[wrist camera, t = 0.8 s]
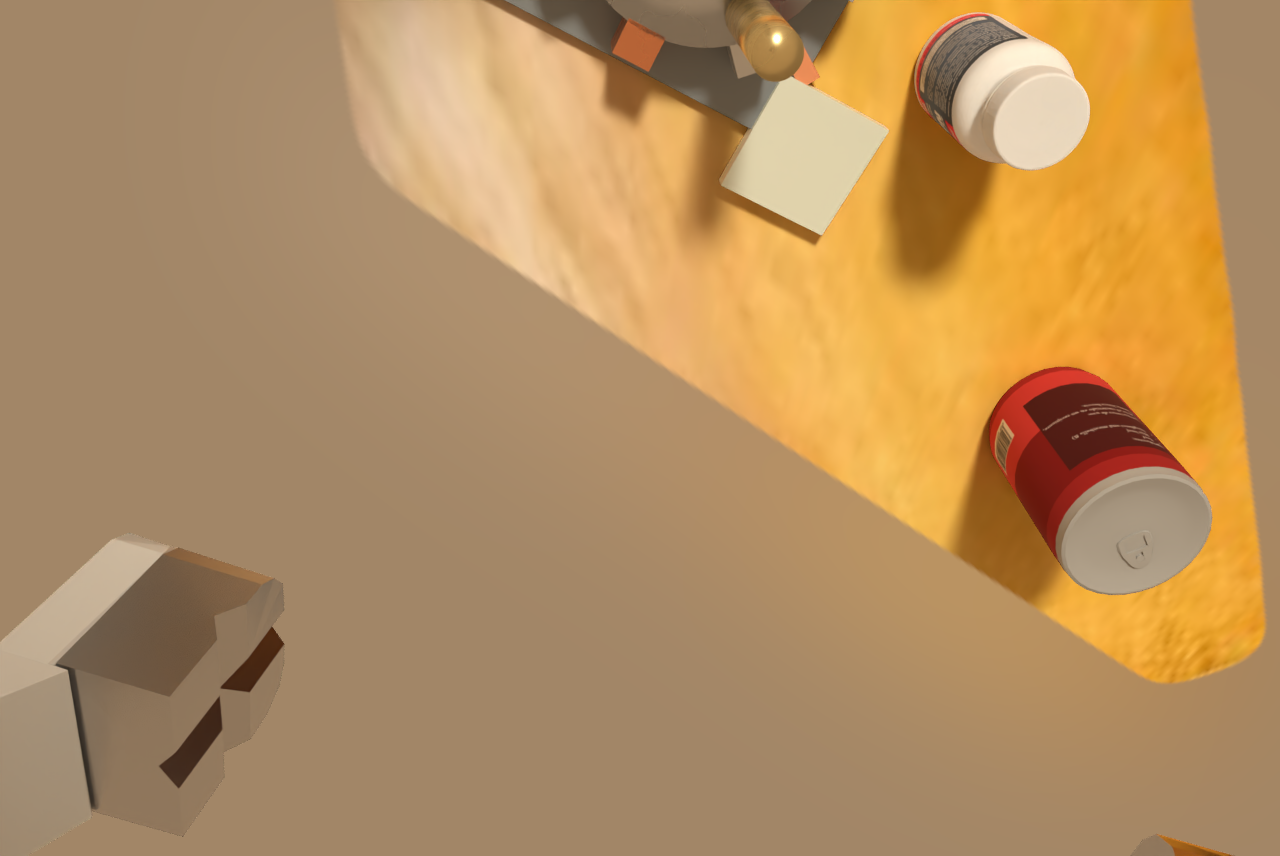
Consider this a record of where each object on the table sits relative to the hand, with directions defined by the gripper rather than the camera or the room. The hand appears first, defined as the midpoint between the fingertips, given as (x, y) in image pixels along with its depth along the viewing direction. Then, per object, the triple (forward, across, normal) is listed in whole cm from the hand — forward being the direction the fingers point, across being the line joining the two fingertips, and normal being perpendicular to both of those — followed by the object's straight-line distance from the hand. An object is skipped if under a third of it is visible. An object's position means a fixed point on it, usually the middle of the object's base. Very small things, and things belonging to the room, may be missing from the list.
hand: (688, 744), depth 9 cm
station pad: (+44, 0, +7) cm, 44 cm away
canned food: (+49, -18, +20) cm, 56 cm away
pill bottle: (+46, -6, +1) cm, 46 cm away
